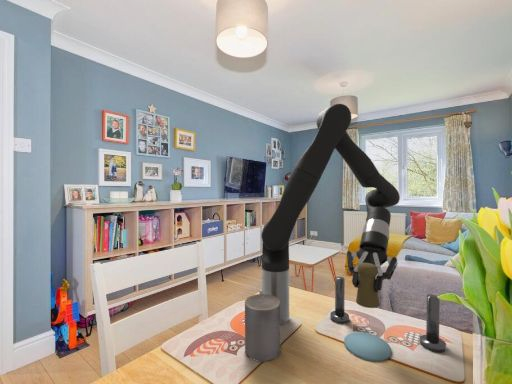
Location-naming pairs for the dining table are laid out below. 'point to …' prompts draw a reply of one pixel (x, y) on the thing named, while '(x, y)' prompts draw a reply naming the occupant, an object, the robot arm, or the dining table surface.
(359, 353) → the teal mat
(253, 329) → the pillar candle
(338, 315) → the gap posts
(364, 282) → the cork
